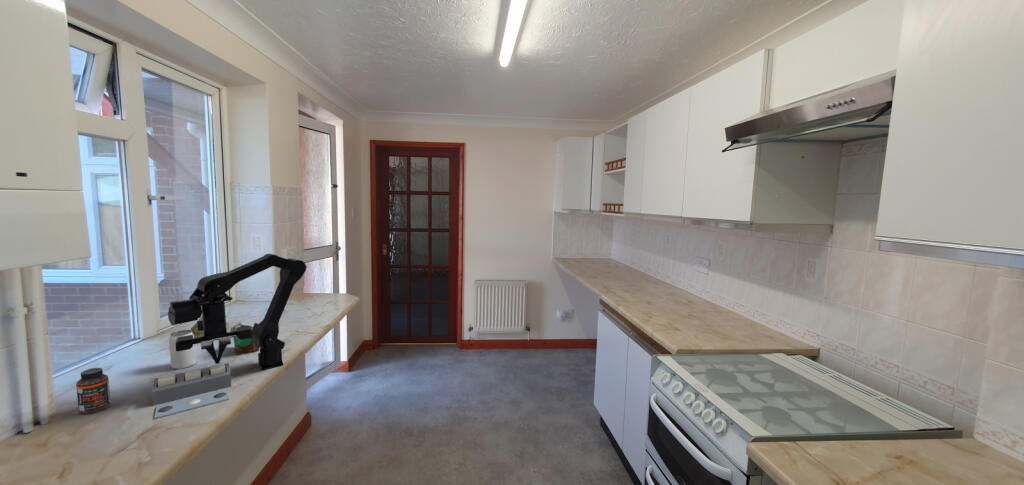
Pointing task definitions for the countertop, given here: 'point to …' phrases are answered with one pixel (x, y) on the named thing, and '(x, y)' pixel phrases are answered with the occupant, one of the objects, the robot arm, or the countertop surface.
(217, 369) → the button
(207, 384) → the button board
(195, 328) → the ceramic model
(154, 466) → the countertop surface
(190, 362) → the can
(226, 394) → the pattern card
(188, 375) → the button middle
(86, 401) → the supplement bottle
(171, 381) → the button
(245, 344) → the food container
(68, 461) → the countertop surface
